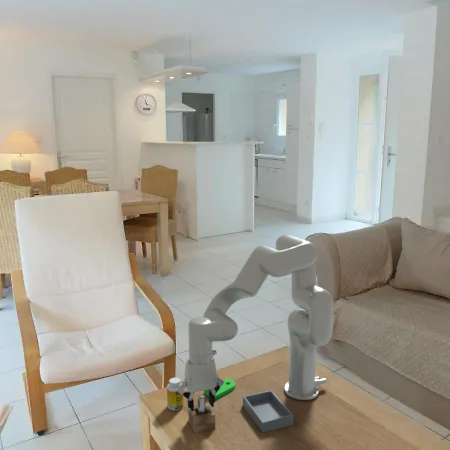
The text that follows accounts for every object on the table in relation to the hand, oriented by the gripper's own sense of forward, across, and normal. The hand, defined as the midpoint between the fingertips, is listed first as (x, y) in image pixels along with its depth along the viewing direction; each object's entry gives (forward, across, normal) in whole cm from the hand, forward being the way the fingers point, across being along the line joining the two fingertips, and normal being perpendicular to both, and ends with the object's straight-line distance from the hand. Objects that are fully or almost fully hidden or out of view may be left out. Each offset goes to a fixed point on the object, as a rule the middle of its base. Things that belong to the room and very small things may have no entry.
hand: (201, 406), depth 151 cm
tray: (+7, -22, +3) cm, 24 cm away
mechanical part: (+7, -13, -17) cm, 22 cm away
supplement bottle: (+7, +6, -13) cm, 16 cm away
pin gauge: (+7, 0, 0) cm, 7 cm away
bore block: (+7, 0, 0) cm, 7 cm away
